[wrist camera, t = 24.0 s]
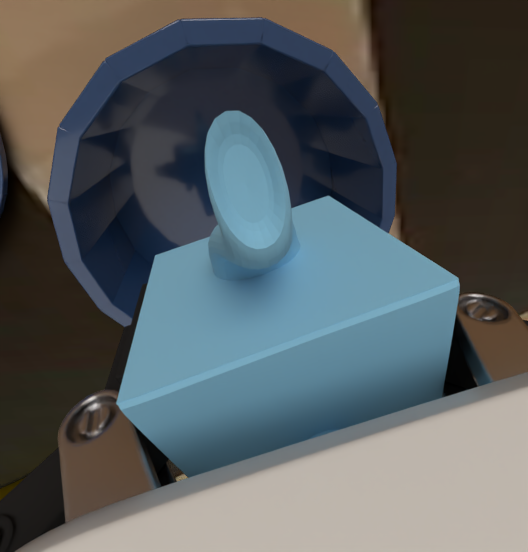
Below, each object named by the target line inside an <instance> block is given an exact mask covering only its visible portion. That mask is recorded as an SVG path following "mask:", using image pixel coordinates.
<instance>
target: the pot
mask: <svg viewBox="0 0 528 552" xmlns="http://www.w3.org/2000/svg"><path fill="white" fill-rule="evenodd" d="M225 111H240V112H242V113H244V114H246V115H248V116H250V117H251V118H252V119H253V120H254V121H255V122H256V123H257V124H258V125H259V126H260V127H261V128H262V129H263V130H264V132H265V134H266V135H267V137H268V139H269V140H270V142H271V144H272V145H273V147H274V149H275V151H276V154H277V156H278V159H279V161H280V163H281V166H282V169H283V172H284V175H285V179H286V182H287V186H288V190H289V196H290V203H291V208H294V207H297V206H300V205H302V204H305V203H308V202H311V201H314V200H317V199H320V198H323V197H326V196H330V197H332V198H333V199H335V200H336V201H338V202H340V203H341V204H343V205H344V206H346V207H347V208H349V209H351V210H352V211H354V212H355V213H357V214H358V215H360V216H362V217H363V218H365V219H366V220H368V221H369V222H371V223H373V224H374V225H376V226H377V227H379V228H380V229H382V230H384V231H385V232H387V233H389V231H390V228H391V225H392V222H393V219H394V216H395V194H396V169H397V163H396V160H395V156H394V153H393V150H392V147H391V144H390V141H389V137H388V134H387V131H386V128H385V125H384V122H383V118H382V115H381V112H380V109H379V106H378V105H377V102H376V101H375V100H374V99H373V97H372V96H371V95H370V94H369V93H368V91H367V90H366V89H365V88H364V87H363V85H362V84H361V83H360V82H359V81H358V79H357V78H356V77H355V76H354V75H353V73H352V72H351V71H350V70H349V69H348V67H347V66H346V65H345V64H344V63H343V61H342V60H341V59H340V58H339V57H338V55H337V54H336V53H335V52H333V50H331V49H329V48H327V47H325V46H323V45H321V44H318V43H316V42H314V41H312V40H310V39H308V38H306V37H304V36H302V35H300V34H297V33H295V32H293V31H291V30H289V29H287V28H285V27H283V26H281V25H279V24H277V23H274V22H272V21H270V20H268V19H266V18H264V19H263V18H262V17H257V18H192V19H181V20H179V19H178V20H176V21H174V22H172V23H170V24H169V25H167V26H165V27H163V28H161V29H159V30H157V31H155V32H154V33H152V34H150V35H148V36H146V37H144V38H142V39H141V40H139V41H137V42H135V43H133V44H131V45H129V46H127V47H126V48H124V49H122V50H120V51H118V52H116V53H114V54H113V55H111V56H109V57H107V58H106V59H105V61H103V62H102V63H101V65H100V66H99V68H98V69H97V71H96V72H95V74H94V75H93V76H92V78H91V79H90V81H89V82H88V84H87V85H86V87H85V88H84V90H83V91H82V92H81V94H80V95H79V97H78V98H77V100H76V101H75V103H74V104H73V105H72V107H71V108H70V110H69V111H68V113H67V114H66V116H65V117H64V119H63V120H62V121H61V123H60V125H59V126H60V127H58V129H57V136H56V143H55V149H54V156H53V163H52V169H51V176H50V183H49V190H48V196H47V199H48V200H47V201H48V205H49V209H50V212H51V216H52V219H53V223H54V227H55V230H56V234H57V237H58V241H59V245H60V248H61V252H62V255H63V259H64V262H65V263H66V265H67V267H68V268H69V269H70V271H71V272H72V273H73V275H74V276H75V277H76V279H77V280H78V281H79V283H80V284H81V285H82V287H83V288H84V289H85V291H86V292H87V293H88V295H89V296H90V297H91V299H92V300H93V301H94V303H95V304H96V305H97V307H98V308H99V309H100V310H101V311H102V312H103V313H105V314H106V315H108V316H109V317H111V318H112V319H114V320H115V321H117V322H118V323H119V324H121V325H122V326H124V327H126V326H128V325H131V322H132V318H133V315H134V312H135V308H136V305H137V301H138V298H139V294H140V291H141V287H142V285H143V284H146V283H148V281H149V277H150V273H151V269H152V265H153V262H154V258H155V255H158V254H161V253H163V252H166V251H169V250H172V249H175V248H178V247H181V246H184V245H187V244H190V243H192V242H195V241H198V240H201V239H204V238H207V237H210V235H211V233H212V231H213V230H214V228H215V227H216V226H217V225H218V222H217V220H216V217H215V214H214V211H213V208H212V204H211V201H210V197H209V193H208V187H207V181H206V175H205V144H206V138H207V133H208V131H209V129H210V127H211V125H212V123H213V121H214V119H215V118H216V117H218V116H219V115H221V114H222V113H224V112H225Z"/></svg>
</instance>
